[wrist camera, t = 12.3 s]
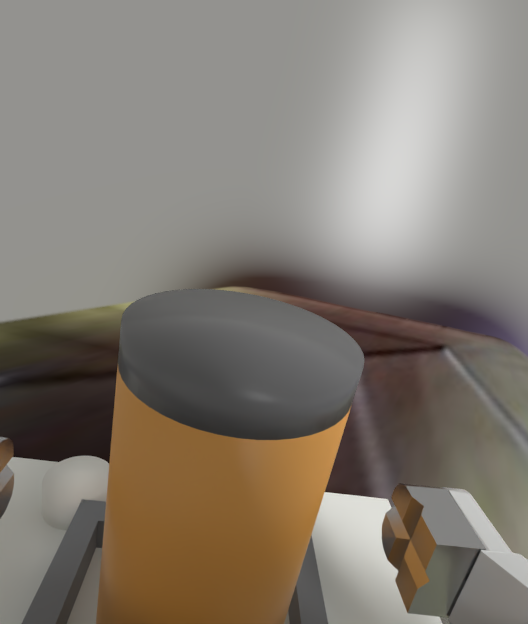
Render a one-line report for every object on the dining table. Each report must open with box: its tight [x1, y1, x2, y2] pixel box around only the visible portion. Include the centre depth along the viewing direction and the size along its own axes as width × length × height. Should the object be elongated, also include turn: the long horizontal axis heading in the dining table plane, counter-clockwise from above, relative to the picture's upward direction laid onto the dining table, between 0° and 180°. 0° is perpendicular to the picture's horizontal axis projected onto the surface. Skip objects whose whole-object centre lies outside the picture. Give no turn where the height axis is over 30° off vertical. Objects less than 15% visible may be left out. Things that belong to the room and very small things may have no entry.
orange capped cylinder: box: [96, 289, 364, 624], centre depth 9 cm, size 4×4×10 cm
